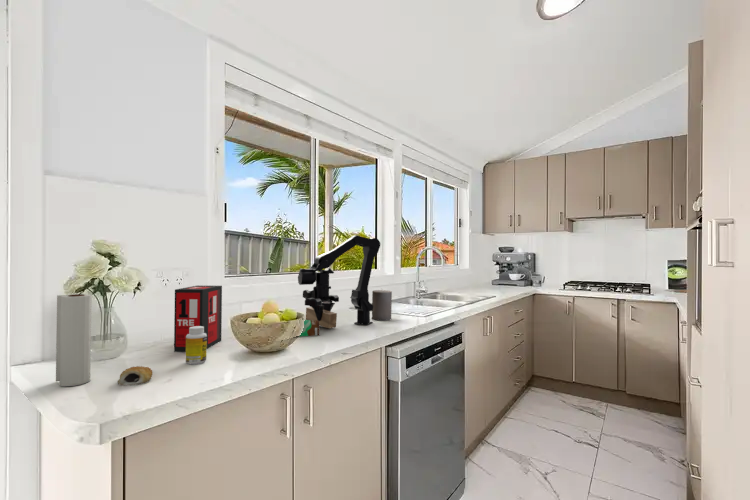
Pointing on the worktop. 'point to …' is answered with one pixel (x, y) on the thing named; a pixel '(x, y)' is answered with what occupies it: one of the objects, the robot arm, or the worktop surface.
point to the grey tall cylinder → (73, 339)
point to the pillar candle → (381, 304)
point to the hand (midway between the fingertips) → (322, 320)
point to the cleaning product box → (197, 314)
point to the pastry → (135, 376)
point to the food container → (310, 328)
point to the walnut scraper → (327, 317)
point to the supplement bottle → (196, 345)
